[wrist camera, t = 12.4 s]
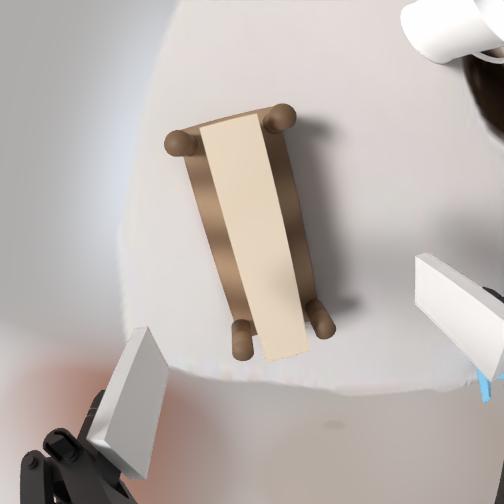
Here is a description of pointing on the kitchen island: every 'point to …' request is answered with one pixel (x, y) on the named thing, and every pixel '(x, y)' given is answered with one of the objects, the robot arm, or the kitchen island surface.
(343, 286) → the kitchen island surface
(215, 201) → the rack
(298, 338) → the beige long block
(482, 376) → the teapot
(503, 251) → the kitchen island surface
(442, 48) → the mug
